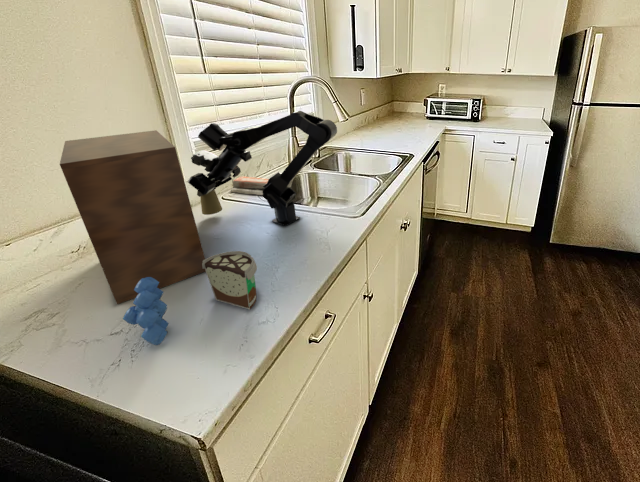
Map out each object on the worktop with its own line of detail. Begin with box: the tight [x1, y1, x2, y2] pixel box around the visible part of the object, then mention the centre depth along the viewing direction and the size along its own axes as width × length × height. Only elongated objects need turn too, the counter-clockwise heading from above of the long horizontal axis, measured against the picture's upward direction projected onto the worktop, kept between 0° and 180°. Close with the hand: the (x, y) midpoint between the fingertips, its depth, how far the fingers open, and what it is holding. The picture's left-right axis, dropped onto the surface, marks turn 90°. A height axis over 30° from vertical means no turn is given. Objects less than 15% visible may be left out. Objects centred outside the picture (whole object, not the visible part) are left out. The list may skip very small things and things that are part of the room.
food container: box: [202, 250, 258, 311], centre depth 71 cm, size 12×6×10 cm, turn 71°
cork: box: [199, 189, 223, 216], centre depth 107 cm, size 6×6×11 cm
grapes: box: [122, 277, 170, 346], centre depth 60 cm, size 12×7×12 cm, turn 31°
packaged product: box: [229, 175, 270, 196], centre depth 133 cm, size 18×5×10 cm
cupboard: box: [59, 129, 206, 305], centre depth 80 cm, size 18×26×32 cm
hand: (203, 192), depth 107 cm, fingers closed on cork, 5 cm apart
